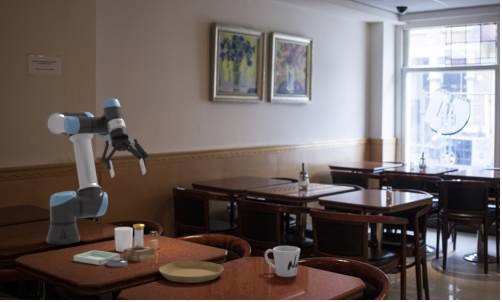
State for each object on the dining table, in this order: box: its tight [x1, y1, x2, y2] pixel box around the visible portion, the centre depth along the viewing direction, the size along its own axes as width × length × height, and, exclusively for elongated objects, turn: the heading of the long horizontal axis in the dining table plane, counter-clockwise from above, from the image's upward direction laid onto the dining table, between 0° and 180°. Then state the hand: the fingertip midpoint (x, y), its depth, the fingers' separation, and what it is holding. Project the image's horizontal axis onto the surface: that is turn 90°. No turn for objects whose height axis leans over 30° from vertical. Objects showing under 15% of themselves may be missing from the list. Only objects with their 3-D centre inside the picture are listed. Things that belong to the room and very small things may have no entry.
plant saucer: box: [158, 260, 224, 284], centre depth 235 cm, size 24×24×3 cm
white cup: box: [114, 226, 134, 252], centre depth 276 cm, size 8×8×10 cm
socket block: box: [122, 245, 155, 262], centre depth 261 cm, size 9×9×4 cm
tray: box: [73, 249, 121, 266], centre depth 257 cm, size 14×12×2 cm
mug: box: [264, 245, 301, 278], centre depth 240 cm, size 10×15×10 cm
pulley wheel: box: [106, 257, 129, 268], centre depth 250 cm, size 8×8×3 cm
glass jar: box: [132, 223, 145, 250], centre depth 260 cm, size 5×5×14 cm
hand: (129, 174), depth 260 cm, fingers open, 13 cm apart
